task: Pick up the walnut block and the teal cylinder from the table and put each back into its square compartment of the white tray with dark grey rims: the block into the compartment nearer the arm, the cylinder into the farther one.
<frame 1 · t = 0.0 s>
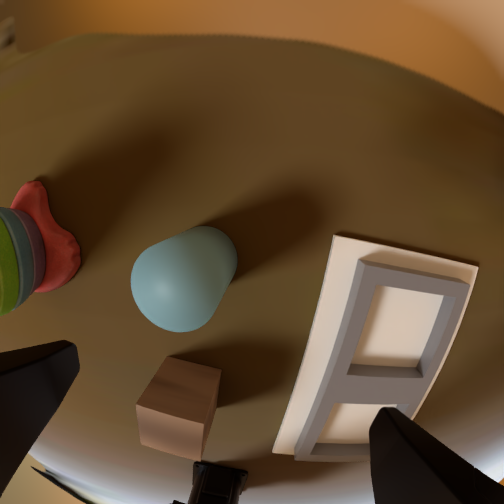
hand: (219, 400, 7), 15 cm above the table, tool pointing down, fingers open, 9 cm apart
teal cylinder: (204, 259, 21), on the table
walnut block: (192, 383, 24), on the table
stacking bear: (39, 244, 23), on the table
tray: (373, 375, 22), on the table
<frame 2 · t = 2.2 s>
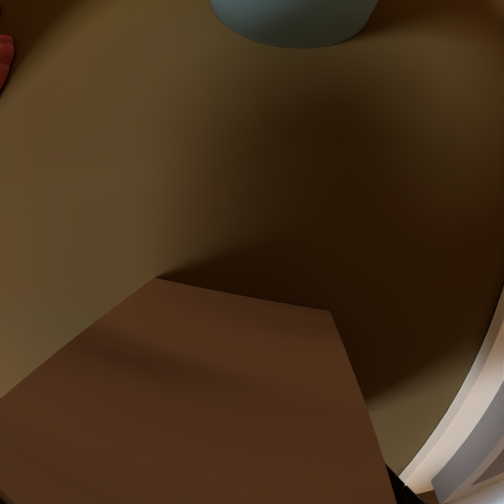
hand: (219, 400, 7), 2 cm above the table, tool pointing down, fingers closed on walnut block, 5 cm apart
walnut block: (228, 368, 8), on the table, touching gripper
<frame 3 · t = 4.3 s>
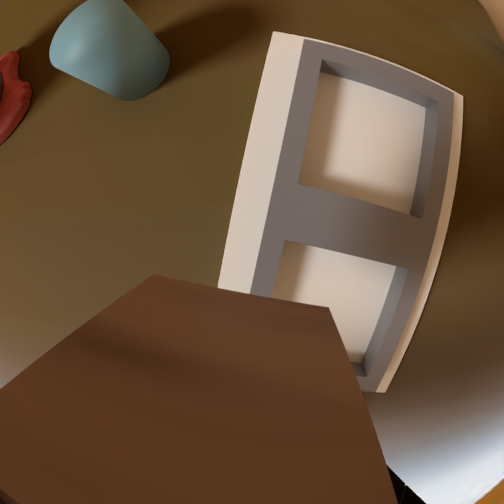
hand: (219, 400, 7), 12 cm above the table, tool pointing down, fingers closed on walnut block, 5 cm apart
teal cylinder: (137, 69, 16), on the table
walnut block: (227, 366, 8), point 10 cm above the table, touching gripper
stacking bear: (0, 107, 17), on the table
tray: (348, 223, 17), on the table
when the fingers open (4 cm above the table, at t = 6.5 s): walnut block drops 1 cm, resting on tray.
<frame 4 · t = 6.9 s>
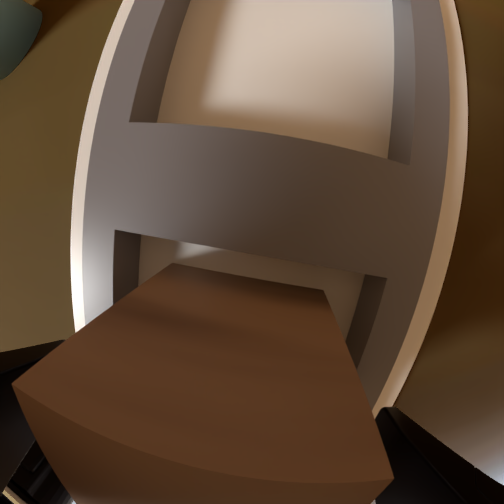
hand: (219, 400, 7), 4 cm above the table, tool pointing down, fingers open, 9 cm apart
teal cylinder: (14, 43, 8), on the table
walnut block: (235, 343, 10), point 1 cm above the table, touching tray
tray: (261, 192, 9), on the table
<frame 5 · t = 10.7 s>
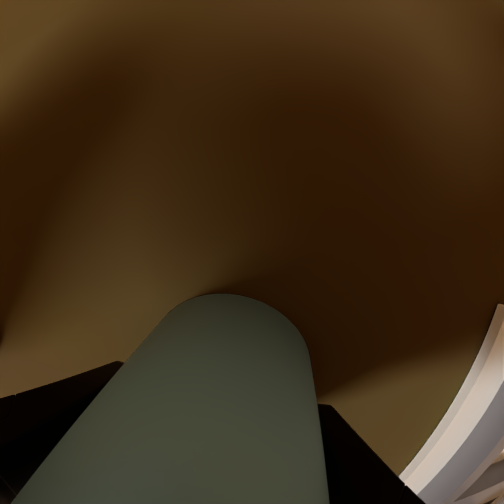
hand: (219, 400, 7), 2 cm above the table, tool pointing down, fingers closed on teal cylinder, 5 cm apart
teal cylinder: (228, 368, 8), on the table, touching gripper
tray: (468, 475, 9), on the table
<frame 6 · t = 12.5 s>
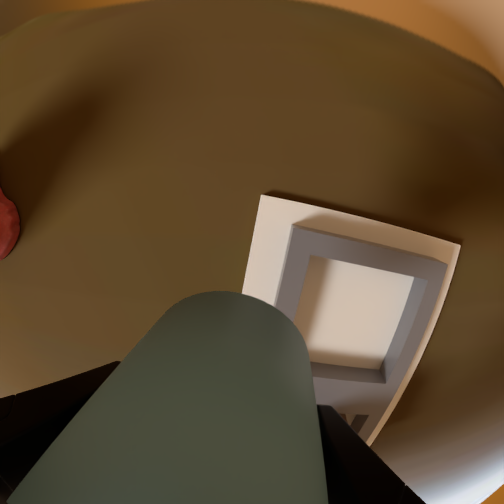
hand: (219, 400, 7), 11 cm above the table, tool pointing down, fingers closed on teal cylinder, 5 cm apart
teal cylinder: (227, 366, 8), point 10 cm above the table, touching gripper
tray: (324, 376, 19), on the table
when the fingers open (4 cm above the table, at t = 14.8 s): teal cylinder drops 1 cm, resting on tray.
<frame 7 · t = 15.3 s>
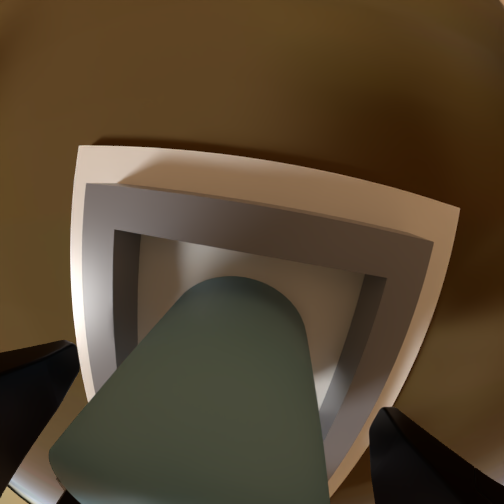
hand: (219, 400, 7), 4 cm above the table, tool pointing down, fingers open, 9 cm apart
teal cylinder: (234, 344, 10), point 1 cm above the table, touching tray
tray: (222, 428, 11), on the table
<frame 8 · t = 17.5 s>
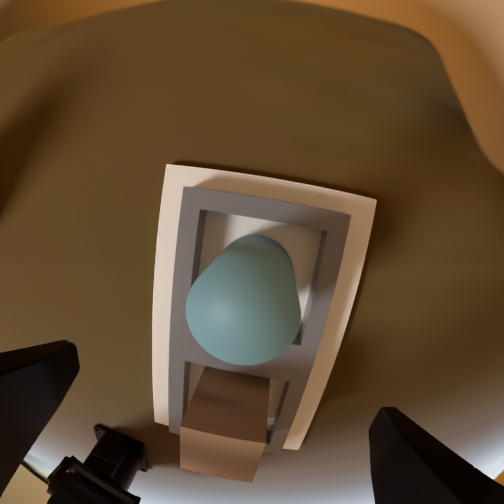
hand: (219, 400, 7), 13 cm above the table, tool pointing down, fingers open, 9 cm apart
teal cylinder: (254, 272, 19), point 1 cm above the table, touching tray
walnut block: (233, 394, 21), point 1 cm above the table, touching tray
tray: (244, 338, 21), on the table
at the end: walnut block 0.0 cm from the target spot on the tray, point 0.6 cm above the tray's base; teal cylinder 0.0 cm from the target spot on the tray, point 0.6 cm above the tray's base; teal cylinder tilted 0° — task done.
